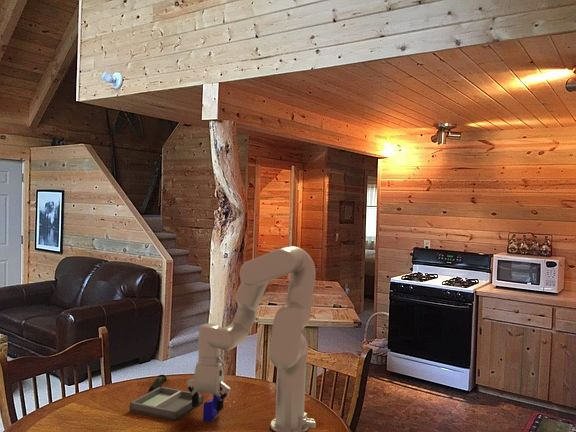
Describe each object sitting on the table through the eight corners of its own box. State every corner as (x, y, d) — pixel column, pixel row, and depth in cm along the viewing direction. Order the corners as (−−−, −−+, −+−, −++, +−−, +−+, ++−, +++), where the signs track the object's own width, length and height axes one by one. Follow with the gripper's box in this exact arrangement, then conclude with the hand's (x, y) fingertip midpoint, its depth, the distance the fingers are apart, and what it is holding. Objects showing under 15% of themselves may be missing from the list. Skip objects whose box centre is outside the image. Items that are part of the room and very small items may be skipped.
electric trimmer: (146, 394, 194) (146, 386, 194) (158, 380, 209) (158, 372, 209) (155, 394, 194) (155, 386, 194) (167, 380, 209) (167, 373, 209)
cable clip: (210, 407, 183) (211, 390, 182) (222, 408, 182) (222, 391, 182) (198, 420, 171) (199, 403, 171) (211, 422, 170) (212, 404, 170)
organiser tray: (203, 402, 186) (203, 394, 186) (175, 421, 170) (175, 412, 169) (160, 394, 193) (160, 386, 193) (129, 411, 176) (129, 402, 176)
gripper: (236, 360, 177) (234, 408, 177) (193, 353, 183) (191, 400, 183) (225, 366, 170) (224, 416, 170) (181, 359, 176) (180, 407, 176)
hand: (207, 408), depth 177 cm, fingers open, 9 cm apart
